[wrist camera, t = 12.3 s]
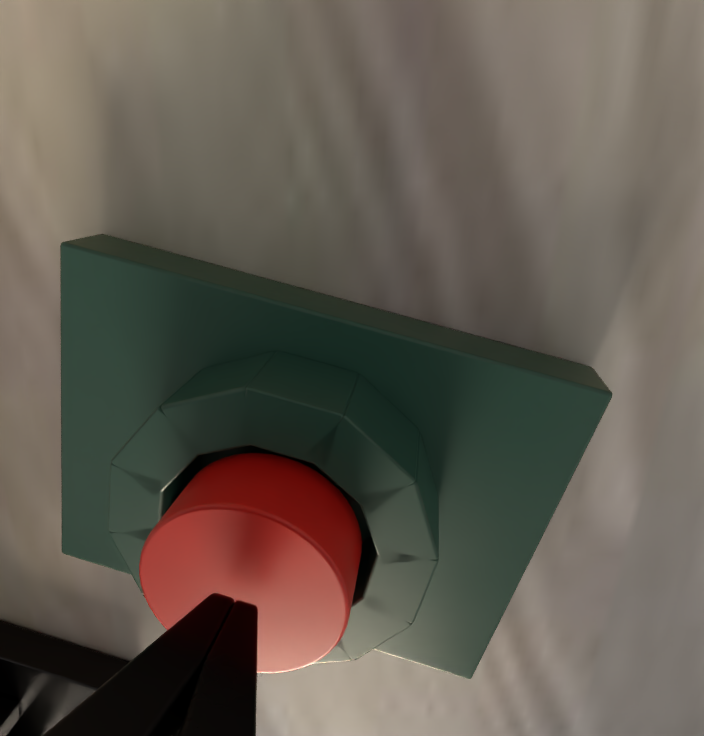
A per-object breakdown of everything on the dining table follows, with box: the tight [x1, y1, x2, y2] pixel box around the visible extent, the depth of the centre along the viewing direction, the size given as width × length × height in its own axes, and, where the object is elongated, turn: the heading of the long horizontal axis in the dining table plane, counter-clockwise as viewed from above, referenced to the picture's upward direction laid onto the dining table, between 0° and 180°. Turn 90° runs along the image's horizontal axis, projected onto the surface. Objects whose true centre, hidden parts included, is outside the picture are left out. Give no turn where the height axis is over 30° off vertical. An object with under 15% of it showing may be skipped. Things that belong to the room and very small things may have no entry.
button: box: [139, 453, 362, 673], centre depth 10 cm, size 4×4×2 cm
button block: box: [61, 234, 612, 679], centre depth 12 cm, size 12×9×4 cm
